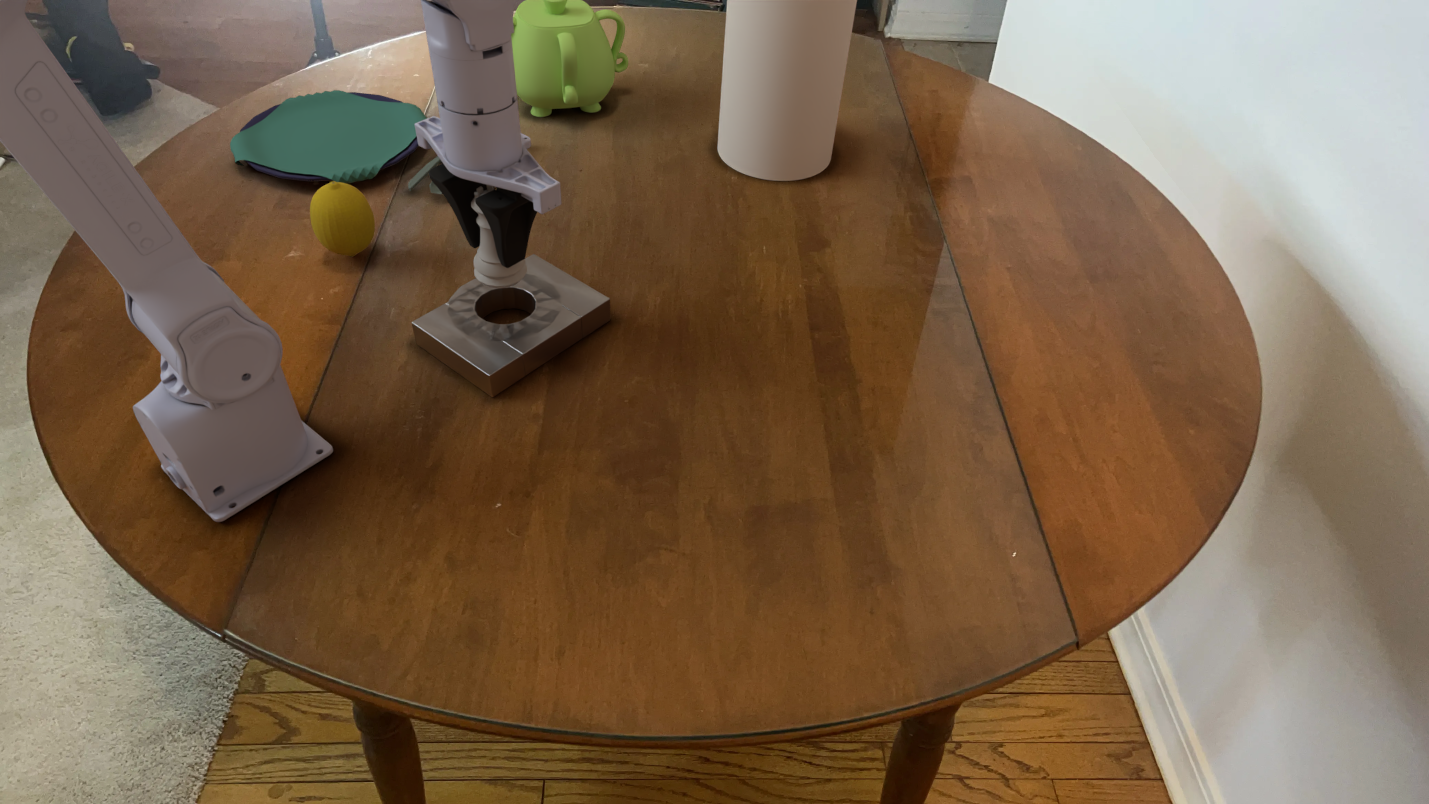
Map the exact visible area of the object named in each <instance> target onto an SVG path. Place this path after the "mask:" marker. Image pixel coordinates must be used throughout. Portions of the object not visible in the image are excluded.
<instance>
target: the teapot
mask: <svg viewBox="0 0 1429 804" xmlns="http://www.w3.org/2000/svg"><path fill="white" fill-rule="evenodd" d="M607 19H608V20H613V21H614V22H616V23H615V24H616V31H615V32H616V33H615V36H614V39H613V42H612V45H610V41H609V39H608V36H607V34H606V32H605V29H604V28H603V25H602V24H601V21H603V20H607ZM513 25H514V33H512V34H511V38H512V49H513V59H514V69H515V79H516V89H517V97H518V98H519V99H520V100H522V101H523V102H524V103H525V104H527V105H529V106H531V109H530V114H531V115H532V116H534V117H537V118H544V117H548V116H550V115H552V112H553V110H555V109H556V110H557V109H560V110H561V109H572V108H580V110H581V111H582V112H584V113H597V112H600V111H601V109H602V106H601V105H600V102H602V101H603V100H604V99H605V97H606V96H607V95H608V94H609V93H610V91H611V88H612V87H613V85H614V82H615V78H616V73H622V72H624V71H626V69H628V67H629V58H628V55H627V54H626V53H624V52H620V51H621V49H622V46H623V42H624V39H625V34H626V25H625V21H624V19H623V18H622V16H621V15H620V14H618V12H616V11H615V10H612V9H600V10H596V11H594V10H593V8H592V6H590V5H589V4H588V3H587V2H586V1H584V0H523V1H521V3H519V5H518V6H517V8H516V10H515V11H514V14H513ZM619 59H622V61H621V62H620V63H619V62H617V61H618V60H619Z"/></svg>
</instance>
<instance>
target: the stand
mask: <svg viewBox="0 0 1429 804" xmlns="http://www.w3.org/2000/svg"><path fill="white" fill-rule="evenodd" d="M525 262H526V263H525V264H526V265H527V272H526V274H525V276H524V278H523V279H522V280H521V281H520V282H519V283H517V284H516V285H514V286H511V287H508V288H492V287H488V286H486V285H484V284H482V283H481V282H480V281H479V280H478V279H477V278H476V277H475V278H473V279H472V280H469V281H468V282H466V283H464V284H462V285H461V286H459V287H458V288H457V289H456V290H455V292H454V293H453V294H452V295H451V296H450V298H449V299H448V301H447V302H445V303H443V304H441V305H439V306H437V307H436V308H434V309H432V310H431V311H428V312H426V313H425V314H423V315H422V316H420V317H418V318H416V319H415V320H412V321H411V327H412V330H413V335H414V339H415V344H416V345H417V346H419V347H420V348H421V349H422V350H424V351H426V352H427V353H428V354H430V355H431V356H432V357H434V358H435V359H436V360H438V361H440V362H441V363H443V364H444V365H445V366H447V367H448V368H450V369H451V370H453V371H454V372H455V373H456V374H458V375H460V376H461V377H463V378H464V379H465V380H466V381H468V382H470V383H471V384H473V385H474V386H475V387H477V389H479V390H481V391H482V392H484V393H485V394H486V395H488V396H489V397H490V398H494V397H496V396H498V395H499V394H500V393H502V392H503V391H505V390H507V389H508V388H510V387H511V386H513V385H514V384H516V383H518V382H519V381H520V380H522V379H524V378H525V377H526V376H528V375H529V374H530V373H533V372H534V371H535V370H537V369H538V368H540V367H541V366H543V365H544V364H546V363H548V361H550V360H552V359H554V358H555V357H556V356H558V355H559V354H561V353H562V352H564V351H565V350H567V349H569V348H570V347H571V346H573V345H575V344H576V343H578V342H579V341H581V340H582V339H584V338H585V337H587V336H589V335H590V334H591V333H593V332H595V331H597V330H598V329H600V328H601V327H602V326H604V325H606V324H607V323H608V322H610V321H611V317H612V316H611V297H608V296H606V295H604V294H603V293H601V292H600V291H597V290H596V289H594V288H593V287H591V286H589V285H587V283H584V282H582V281H581V280H580V279H577V278H576V277H574V276H572V275H570V274H569V273H567V272H566V271H564V270H563V269H561V268H559V267H557V266H555V265H554V264H552V263H550V262H548V261H547V260H546V259H543V258H541V256H538V255H537V254H535V253H533V254H531V255H529V256H527V257H525ZM504 309H506V310H507V309H511V310H512V309H516V310H520V311H525V312H527V313H529V314H530V315H528V316H526V317H525V318H523V319H522V320H519V321H516V322H512V323H500V324H499V323H495V322H491V321H486V320H485V319H484V318H485V317H487V316H488V315H490V314H492V313H493V312H497V311H501V310H504Z"/></svg>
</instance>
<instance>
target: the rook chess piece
mask: <svg viewBox="0 0 1429 804" xmlns="http://www.w3.org/2000/svg"><path fill="white" fill-rule="evenodd" d="M494 189H495V188H494ZM494 189H493V186H490V185H487V190H484V191H483V187H481V186H480V187H479V188H477V192H474V195H475V198H478V197H480V196H482V195H484V194H486V193H488V192H490V191H492V190H494ZM475 198H474V199H473V200H472V202H471V207H472V208H473V209H474V210H475V211H476V212H477V213H478V217H477V218H476V222H477V224H478V225H479V226H480V246H479V247H477V248H476V249H477V250H476V251H477V252H476V253H475V255H474V257H473V268H474V269H473V274H474V275H473V276H474V277H475V278H477V279H478V280H479V281H480V282H481V283H482V284H484V285H486V286H488V287H492V288H508V287H511V286H514V285H516V284H517V283H519V282H520V281H521V280H522V279H523V278H524V276H525V274H526V272H527V265H526V264H525V263H526V262H525V259H524V260H522V261H520V262H518V263H517V264H515V265H513V266H511V267H509V268H506V267H504V266H502V265H501V263H500V261H499V258H498V255H497V251H496V247H495V242H494V238H493V234H492V231H491V229H490V226H489V224H488V222H487V219H486V218H485V216H484V214H483V212H482V211H481V210H480V208H479V207H478V206H477V204H476V202H475Z"/></svg>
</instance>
